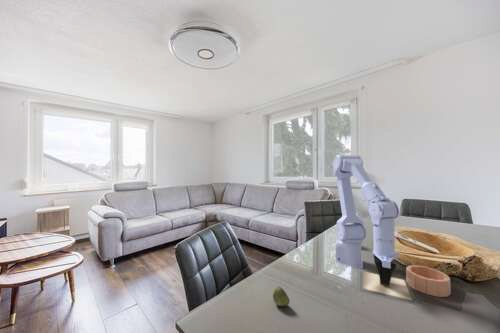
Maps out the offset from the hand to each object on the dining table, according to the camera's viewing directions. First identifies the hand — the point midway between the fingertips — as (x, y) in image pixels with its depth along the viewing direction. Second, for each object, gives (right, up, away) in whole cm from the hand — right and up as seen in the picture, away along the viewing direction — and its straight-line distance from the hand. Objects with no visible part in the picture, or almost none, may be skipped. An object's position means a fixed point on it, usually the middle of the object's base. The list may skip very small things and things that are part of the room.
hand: (384, 281), depth 65 cm
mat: (0, -2, 0) cm, 2 cm away
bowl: (+13, -2, -1) cm, 13 cm away
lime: (-34, -2, -9) cm, 35 cm away
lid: (0, -1, 0) cm, 1 cm away
